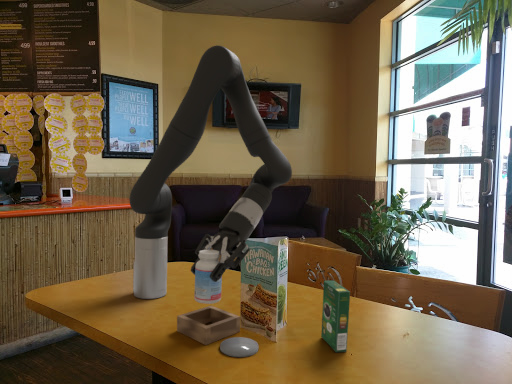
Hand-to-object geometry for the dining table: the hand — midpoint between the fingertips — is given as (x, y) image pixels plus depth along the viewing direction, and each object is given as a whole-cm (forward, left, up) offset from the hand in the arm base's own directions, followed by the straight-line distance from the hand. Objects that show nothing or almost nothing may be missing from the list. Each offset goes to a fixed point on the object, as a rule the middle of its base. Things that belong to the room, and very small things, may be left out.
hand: (202, 276), depth 87 cm
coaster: (+11, +1, -13) cm, 17 cm away
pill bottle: (0, +2, -6) cm, 6 cm away
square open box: (0, +2, -13) cm, 13 cm away
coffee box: (+24, +17, -13) cm, 32 cm away
